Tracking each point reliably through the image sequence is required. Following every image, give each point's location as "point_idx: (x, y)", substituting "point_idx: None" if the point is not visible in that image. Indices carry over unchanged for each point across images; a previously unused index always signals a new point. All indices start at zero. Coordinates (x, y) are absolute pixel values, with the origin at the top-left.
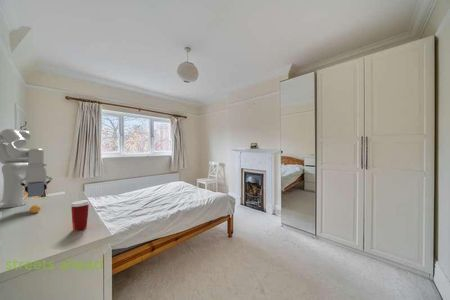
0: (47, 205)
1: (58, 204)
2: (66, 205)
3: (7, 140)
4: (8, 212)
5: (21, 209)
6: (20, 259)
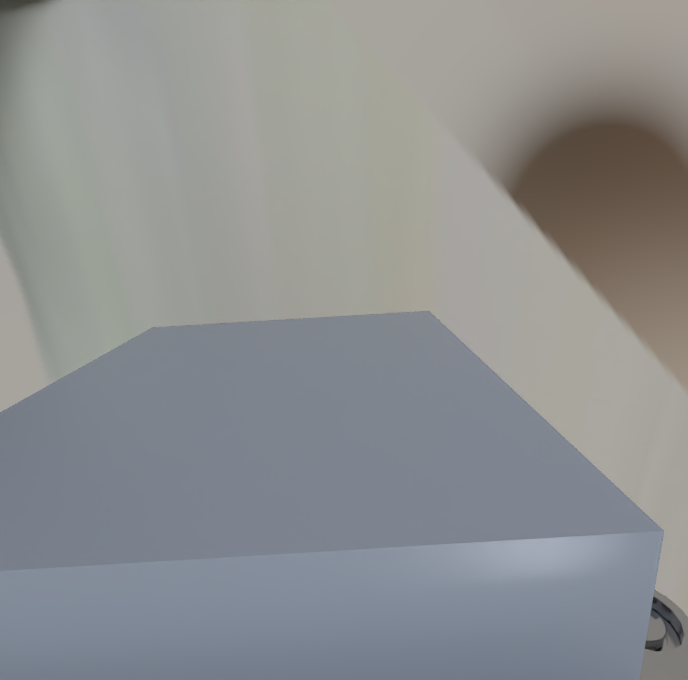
0: (428, 248)
1: (543, 290)
2: (602, 421)
3: None
4: (64, 330)
5: (164, 263)
6: None
